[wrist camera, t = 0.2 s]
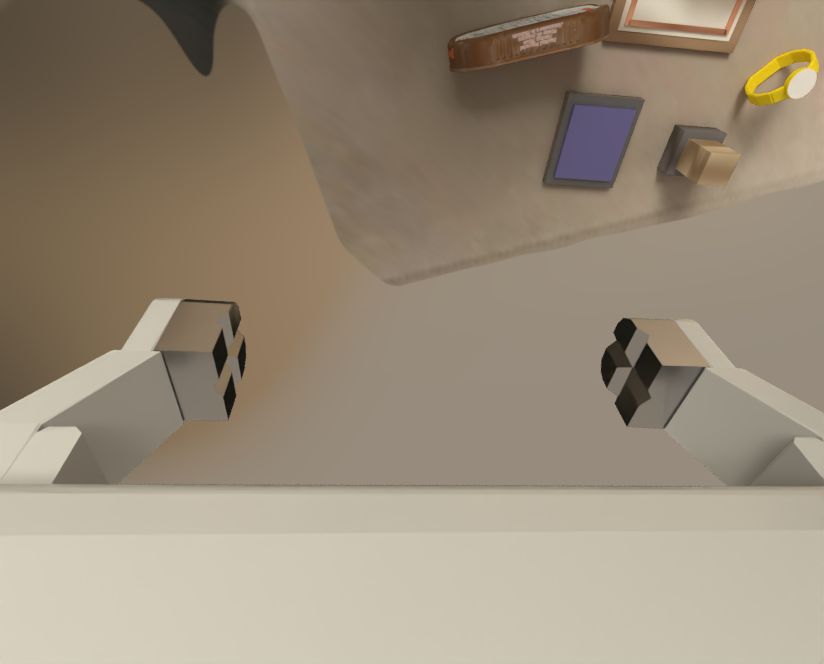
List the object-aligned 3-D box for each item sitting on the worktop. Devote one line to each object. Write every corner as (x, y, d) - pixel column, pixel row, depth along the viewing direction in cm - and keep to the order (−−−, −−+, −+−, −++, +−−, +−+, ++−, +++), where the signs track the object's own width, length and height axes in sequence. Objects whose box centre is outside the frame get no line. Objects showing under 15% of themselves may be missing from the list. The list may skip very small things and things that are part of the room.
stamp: (675, 124, 55) (708, 144, 49) (715, 127, 55) (752, 148, 50) (657, 167, 58) (686, 191, 52) (695, 170, 58) (728, 193, 53)
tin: (445, 65, 49) (455, 83, 43) (441, 30, 47) (450, 44, 41) (591, 31, 48) (624, 45, 42) (592, -6, 46) (627, 2, 40)
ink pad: (566, 91, 52) (571, 94, 50) (640, 97, 52) (646, 100, 51) (542, 180, 58) (546, 185, 57) (609, 184, 59) (613, 189, 57)
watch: (785, 40, 50) (831, 46, 45) (793, 61, 51) (839, 69, 46) (731, 85, 52) (769, 95, 47) (740, 104, 53) (778, 116, 49)
